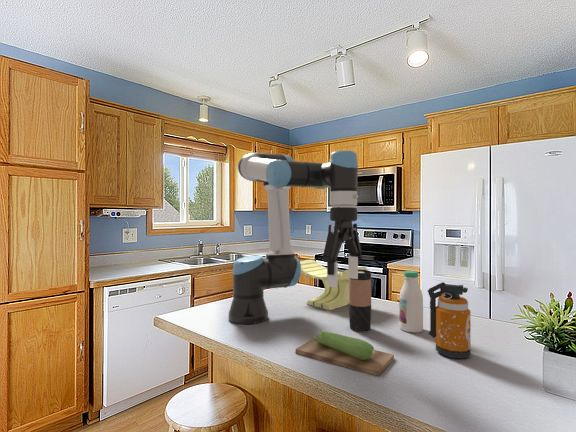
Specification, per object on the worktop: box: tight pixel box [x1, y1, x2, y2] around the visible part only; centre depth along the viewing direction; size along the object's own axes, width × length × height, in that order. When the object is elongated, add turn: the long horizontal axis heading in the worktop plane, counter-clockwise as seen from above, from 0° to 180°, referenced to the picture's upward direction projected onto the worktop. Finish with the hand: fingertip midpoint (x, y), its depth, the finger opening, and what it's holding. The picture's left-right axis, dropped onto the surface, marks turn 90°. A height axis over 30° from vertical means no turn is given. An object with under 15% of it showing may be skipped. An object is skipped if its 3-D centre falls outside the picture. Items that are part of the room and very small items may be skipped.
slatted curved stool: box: [299, 259, 368, 311], centre depth 149 cm, size 30×16×18 cm, turn 44°
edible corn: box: [311, 329, 375, 360], centre depth 95 cm, size 5×20×5 cm
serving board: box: [295, 335, 395, 377], centre depth 94 cm, size 24×12×1 cm, turn 56°
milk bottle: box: [398, 270, 424, 333], centre depth 116 cm, size 8×8×20 cm
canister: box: [427, 281, 472, 359], centre depth 96 cm, size 9×11×20 cm
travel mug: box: [348, 269, 372, 333], centre depth 117 cm, size 8×8×20 cm
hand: (343, 282), depth 94 cm, fingers open, 13 cm apart
